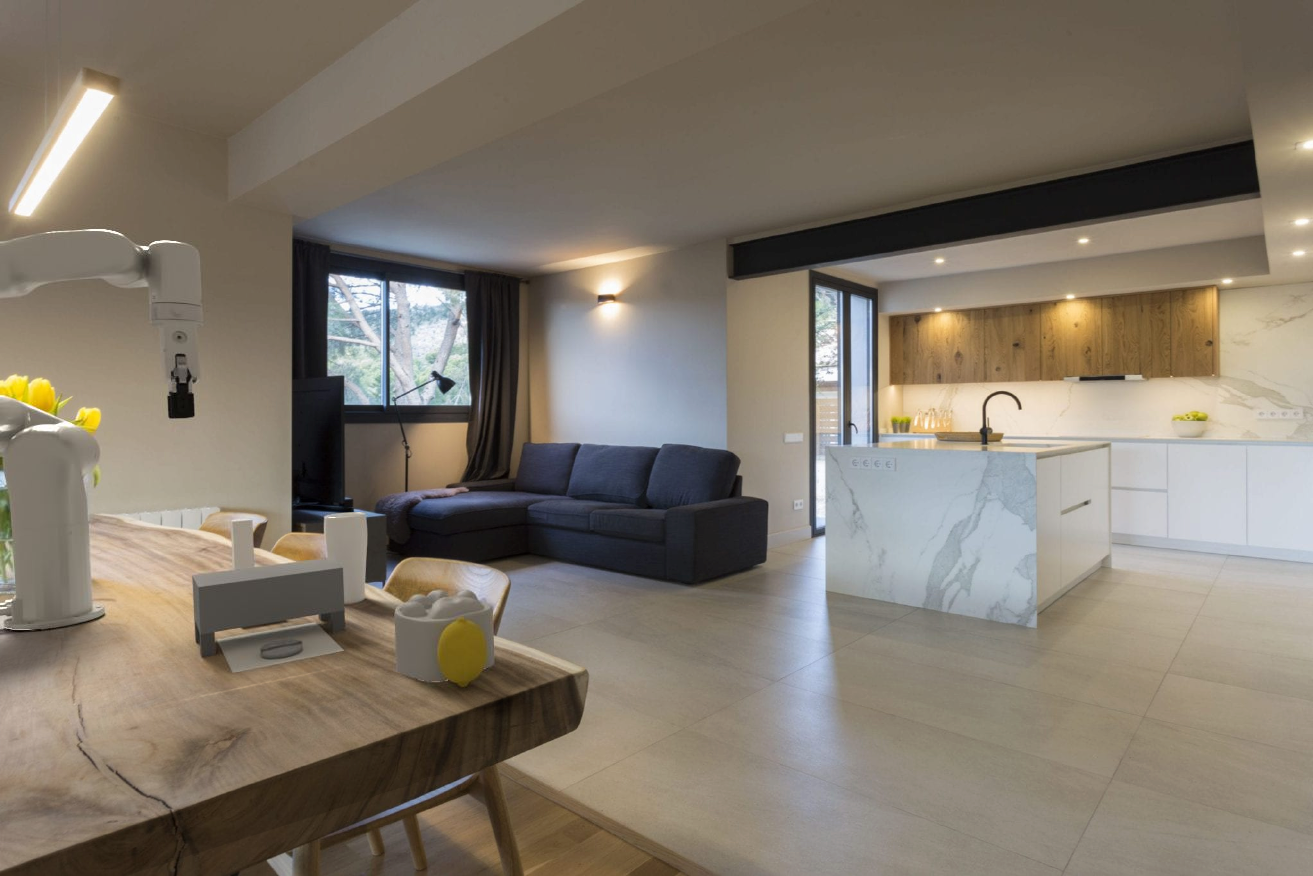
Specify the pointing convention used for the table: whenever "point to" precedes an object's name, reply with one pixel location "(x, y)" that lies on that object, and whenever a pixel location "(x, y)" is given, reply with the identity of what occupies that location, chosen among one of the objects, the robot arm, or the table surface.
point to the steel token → (281, 649)
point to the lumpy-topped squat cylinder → (436, 630)
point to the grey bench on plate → (266, 597)
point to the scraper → (242, 545)
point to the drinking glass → (348, 550)
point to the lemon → (462, 652)
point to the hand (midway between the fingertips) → (181, 417)
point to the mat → (246, 647)
